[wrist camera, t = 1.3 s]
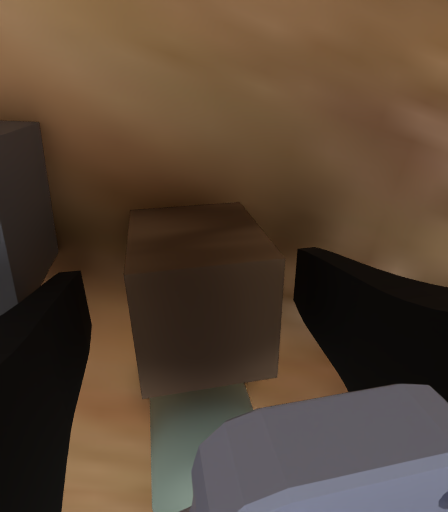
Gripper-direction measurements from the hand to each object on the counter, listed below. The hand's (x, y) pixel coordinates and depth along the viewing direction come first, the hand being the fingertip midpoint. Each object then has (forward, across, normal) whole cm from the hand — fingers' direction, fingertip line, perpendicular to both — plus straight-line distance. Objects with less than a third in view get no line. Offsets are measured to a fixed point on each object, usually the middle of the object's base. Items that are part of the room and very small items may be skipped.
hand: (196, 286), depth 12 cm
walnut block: (+2, 0, 0) cm, 3 cm away
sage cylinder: (+2, 0, +7) cm, 7 cm away
